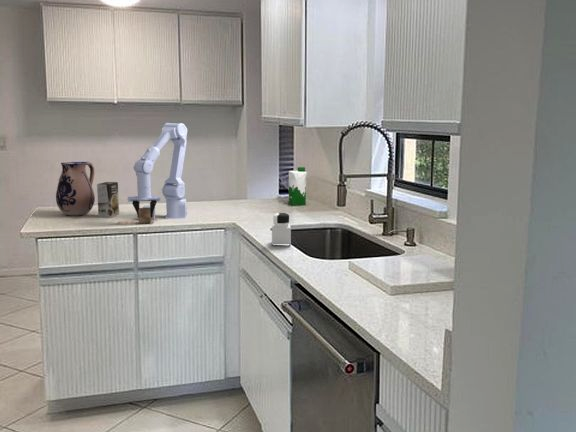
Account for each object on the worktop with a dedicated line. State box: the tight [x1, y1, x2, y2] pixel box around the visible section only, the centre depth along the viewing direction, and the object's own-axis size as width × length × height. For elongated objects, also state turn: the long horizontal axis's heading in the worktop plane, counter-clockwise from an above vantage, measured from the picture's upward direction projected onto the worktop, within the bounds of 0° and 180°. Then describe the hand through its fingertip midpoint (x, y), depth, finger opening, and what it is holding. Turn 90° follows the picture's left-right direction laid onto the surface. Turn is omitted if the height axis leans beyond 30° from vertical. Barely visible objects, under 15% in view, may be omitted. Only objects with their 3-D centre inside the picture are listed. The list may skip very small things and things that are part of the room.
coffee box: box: [96, 181, 120, 219], centre depth 279 cm, size 9×6×16 cm
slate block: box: [141, 205, 156, 220], centre depth 272 cm, size 5×5×6 cm
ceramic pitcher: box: [55, 161, 96, 217], centre depth 285 cm, size 18×21×25 cm
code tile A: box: [115, 220, 138, 226], centre depth 265 cm, size 8×8×1 cm
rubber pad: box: [135, 221, 155, 226], centre depth 265 cm, size 7×7×1 cm
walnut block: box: [138, 207, 152, 223], centre depth 264 cm, size 5×5×6 cm
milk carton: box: [288, 166, 308, 207], centre depth 316 cm, size 9×9×20 cm
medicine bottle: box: [271, 212, 292, 245], centre depth 227 cm, size 7×7×12 cm
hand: (145, 217), depth 264 cm, fingers closed on walnut block, 5 cm apart
